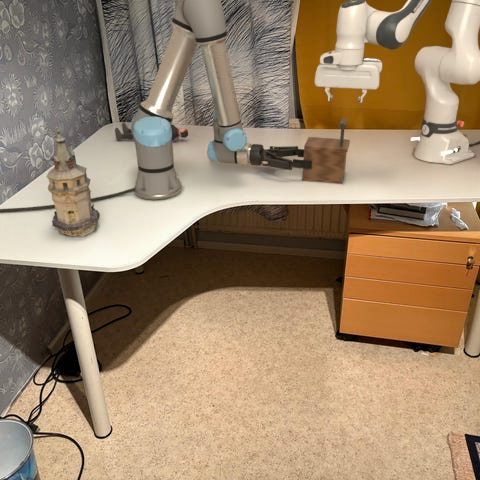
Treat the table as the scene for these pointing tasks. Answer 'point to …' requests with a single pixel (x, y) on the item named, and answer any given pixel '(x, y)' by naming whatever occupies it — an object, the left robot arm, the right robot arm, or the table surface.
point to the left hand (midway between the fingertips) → (313, 159)
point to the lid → (329, 141)
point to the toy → (128, 135)
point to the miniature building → (70, 193)
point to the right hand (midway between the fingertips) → (345, 101)
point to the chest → (325, 166)
